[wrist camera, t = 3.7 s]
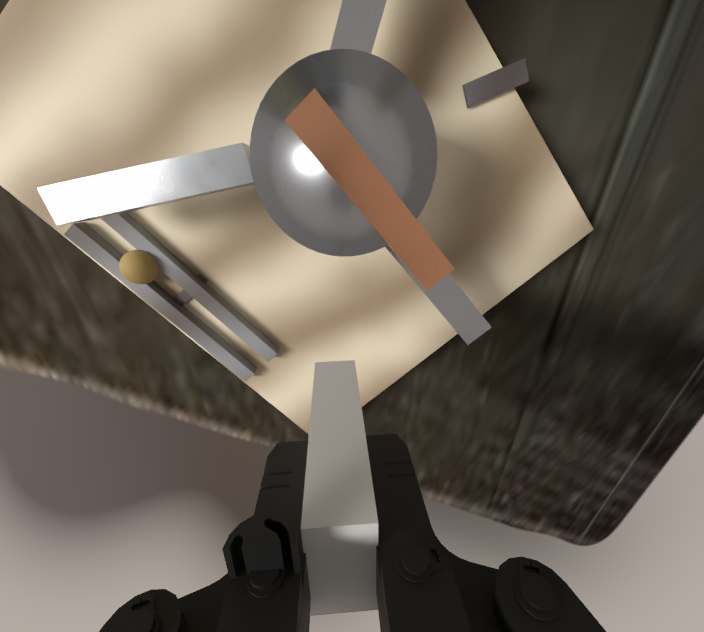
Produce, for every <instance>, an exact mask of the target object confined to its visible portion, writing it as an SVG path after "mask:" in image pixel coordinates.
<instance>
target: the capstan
mask: <svg viewBox="0 0 704 632" xmlns="http://www.w3.org/2000/svg"><path fill="white" fill-rule="evenodd" d="M386 1H387V0H342V4H341V8H340V12H339V16H338V20H337V24H336V28H335V31H334V35H333V39H332V43H331V47H330V50H325V51H321V52H318V53H315V54H312V55H309V56H307V57H305V58H303V59H301V60H299V61H297V62H296V63H295V64H293V65H292V66H290V67H289V68H287V69H286V70H285V71H284V72H283V73H282V74H281V75H280V76H279V77H278V78H277V79H276V80H275V81H274V83H273V84H272V85H271V87H270V88H269V89H268V91H267V92H266V94H265V96H264V98H263V99H262V101H261V103H260V106H259V108H258V110H257V113H256V115H255V119H254V123H253V126H252V132H251V139H250V146H249V145H247V144H245V143H243V142H242V143H238V144H233V145H229V146H224V147H220V148H215V149H211V150H206V151H202V152H197V153H193V154H188V155H184V156H179V157H174V158H170V159H165V160H161V161H156V162H152V163H147V164H143V165H138V166H134V167H129V168H125V169H120V170H116V171H111V172H107V173H102V174H98V175H93V176H89V177H84V178H80V179H75V180H70V181H66V182H61V183H57V184H52V185H48V186H43V187H39V188H37V189H38V191H39V193H40V195H41V197H42V199H43V200H44V202H45V204H46V206H47V208H48V210H49V212H50V214H51V216H52V217H53V219H54V221H55V223H56V225H62V224H68V223H75V222H82V221H89V220H94V219H98V218H103V217H108V216H112V215H117V214H121V213H126V212H130V211H135V210H139V209H144V208H149V207H153V206H158V205H162V204H167V203H171V202H176V201H181V200H185V199H190V198H194V197H199V196H203V195H208V194H212V193H217V192H222V191H226V190H231V189H235V188H240V187H244V186H249V185H254V184H255V187H256V190H257V193H258V195H259V198H260V200H261V202H262V204H263V206H264V208H265V209H266V211H267V212H268V214H269V215H270V217H271V218H272V219H273V221H274V222H275V223H276V224H277V225H278V227H279V228H280V229H281V230H282V231H284V232H285V233H286V234H287V235H288V236H289V237H291V238H292V239H293V240H295V241H296V242H297V243H299V244H301V245H303V246H305V247H306V248H308V249H311V250H313V251H316V252H319V253H323V254H327V255H332V256H340V257H342V256H357V255H363V254H367V253H370V252H374V251H376V250H378V249H381V248H383V247H385V248H386V249H387V250H388V251H389V252H390V254H391V255H392V256H393V257H394V258H395V260H396V261H397V262H398V263H399V264H400V265H401V267H402V268H403V269H404V270H405V271H406V273H407V274H408V275H409V276H410V277H411V279H412V280H413V281H414V282H415V283H416V285H417V286H418V287H419V288H420V289H421V290H422V292H423V293H424V294H425V295H426V296H427V298H428V299H429V300H430V301H431V302H432V304H433V305H434V306H435V307H436V308H437V309H438V311H439V312H440V313H441V314H442V315H443V317H444V318H445V319H446V320H447V321H448V323H449V324H450V325H451V326H452V327H453V328H454V330H455V331H456V332H457V333H458V334H459V335H460V337H461V338H462V339H463V340H464V341H465V342H466V343H467V345H469V344H470V343H471V342H473V341H474V340H475V339H477V338H478V337H479V336H481V335H482V334H483V333H485V332H486V331H487V330H489V329H490V328H491V326H490V325H489V323H488V322H487V321H486V320H485V318H484V317H483V316H482V314H481V313H480V312H479V311H478V309H477V308H476V307H475V306H474V304H473V303H472V302H471V300H470V299H469V298H468V297H467V295H466V294H465V293H464V292H463V290H462V289H461V288H460V286H459V285H458V284H457V283H456V281H455V280H454V279H453V277H452V276H451V275H450V274H449V273H450V272H451V271H452V270H454V267H453V266H452V265H451V264H450V262H449V261H448V260H447V258H446V257H445V256H444V255H443V253H442V252H441V251H440V249H439V248H438V247H437V245H436V244H435V243H434V242H433V240H432V239H431V238H430V236H429V235H428V234H427V233H426V231H425V230H424V229H423V227H422V226H421V225H420V223H419V222H418V221H417V220H416V219H417V218H418V216H419V215H420V213H421V211H422V210H423V208H424V207H425V204H426V202H427V200H428V198H429V196H430V193H431V190H432V187H433V184H434V179H435V174H436V169H437V140H436V133H435V128H434V125H433V121H432V117H431V115H430V112H429V110H428V108H427V105H426V103H425V101H424V100H423V98H422V96H421V94H420V93H419V91H418V90H417V88H416V87H415V86H414V85H413V83H412V82H411V81H410V80H409V79H408V78H407V77H406V76H405V75H404V74H403V73H402V72H401V71H400V70H399V69H397V68H396V67H395V66H393V65H392V64H391V63H389V62H387V61H386V60H384V59H382V58H380V57H378V56H376V55H373V54H371V52H372V49H373V45H374V42H375V39H376V35H377V32H378V28H379V25H380V22H381V18H382V15H383V11H384V8H385V4H386Z"/></svg>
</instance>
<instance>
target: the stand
mask: <svg viewBox="0 0 704 632" xmlns="http://www.w3.org/2000/svg"><path fill="white" fill-rule="evenodd" d="M341 4H342V0H9V2H8V3H7V5H6V7H5V8H4V10H3V11H2V13H1V14H0V185H1V186H2V187H3V188H5V189H6V190H7V191H8V192H10V193H11V194H12V195H13V196H14V197H16V198H17V199H18V200H19V201H21V202H22V203H23V204H24V205H26V206H27V207H28V208H29V209H31V210H32V211H33V212H34V213H36V214H37V215H38V216H39V217H40V218H42V219H43V220H44V221H45V222H47V223H48V224H49V225H50V226H52V227H53V228H54V229H55V230H57V231H58V232H59V233H60V234H62V235H63V236H64V237H65V238H66V239H68V240H69V241H70V242H71V243H73V244H74V245H75V246H76V247H78V248H79V249H80V250H81V251H83V252H84V253H85V254H86V255H88V256H89V257H90V258H91V259H92V260H94V261H95V262H96V263H97V264H99V265H100V266H101V267H102V268H104V269H105V270H106V271H107V272H109V273H110V274H111V275H112V276H114V277H115V278H116V279H117V280H118V281H120V282H121V283H122V284H123V285H125V286H126V287H127V288H128V289H130V290H131V291H132V292H133V293H135V294H136V295H137V296H138V297H140V298H141V299H142V300H143V301H144V302H146V303H147V304H148V305H149V306H151V307H152V308H153V309H154V310H156V311H157V312H158V313H159V314H161V315H162V316H163V317H164V318H166V319H167V320H168V321H169V322H170V323H172V324H173V325H174V326H175V327H177V328H178V329H179V330H180V331H182V332H183V333H184V334H185V335H187V336H188V337H189V338H190V339H192V340H193V341H194V342H195V343H196V344H198V345H199V346H200V347H201V348H203V349H204V350H205V351H206V352H208V353H209V354H210V355H211V356H213V357H214V358H215V359H216V360H218V361H219V362H220V363H221V364H222V365H224V366H225V367H226V368H227V369H229V370H230V371H231V372H232V373H234V374H235V375H236V376H237V377H239V378H240V379H241V380H242V381H244V382H245V383H246V384H247V385H248V386H250V387H251V388H252V389H253V390H255V391H256V392H257V393H258V394H260V395H261V396H262V397H263V398H265V399H266V400H267V401H268V402H270V403H271V404H272V405H273V406H274V407H276V408H277V409H278V410H279V411H281V412H282V413H283V414H284V415H286V416H287V417H288V418H289V419H291V420H292V421H293V422H294V423H296V424H297V425H298V426H299V427H300V428H302V429H303V430H304V431H305V432H307V433H308V434H309V427H310V415H311V404H312V392H313V380H314V369H315V362H330V361H349V360H355V366H356V373H357V380H358V387H359V394H360V400H361V407H363V406H364V405H365V404H367V403H368V402H369V401H370V400H372V399H373V398H374V397H376V396H377V395H378V394H380V393H381V392H382V391H383V390H385V389H386V388H387V387H389V386H390V385H391V384H393V383H394V382H395V381H397V380H398V379H399V378H400V377H402V376H403V375H404V374H406V373H407V372H408V371H410V370H411V369H412V368H414V367H415V366H416V365H417V364H419V363H420V362H421V361H423V360H424V359H425V358H427V357H428V356H429V355H431V354H432V353H433V352H434V351H436V350H437V349H438V348H440V347H441V346H442V345H444V344H445V343H446V342H447V341H449V340H450V339H451V338H453V337H454V336H455V335H457V334H458V333H457V332H456V331H455V330H454V328H453V327H452V326H451V325H450V324H449V323H448V321H447V320H446V319H445V318H444V317H443V315H442V314H441V313H440V312H439V311H438V309H437V308H436V307H435V306H434V305H433V304H432V302H431V301H430V300H429V299H428V298H427V296H426V295H425V294H424V293H423V292H422V290H421V289H420V288H419V287H418V286H417V285H416V283H415V282H414V281H413V280H412V279H411V277H410V276H409V275H408V274H407V273H406V271H405V270H404V269H403V268H402V267H401V265H400V264H399V263H398V262H397V261H396V260H395V258H394V257H393V256H392V255H391V254H390V252H389V251H388V250H387V249H386V248H385V247H383V248H381V249H378V250H376V251H374V252H370V253H367V254H363V255H357V256H342V257H340V256H332V255H327V254H323V253H319V252H316V251H313V250H311V249H308V248H306V247H305V246H303V245H301V244H299V243H297V242H296V241H295V240H293V239H292V238H291V237H289V236H288V235H287V234H286V233H285V232H284V231H282V230H281V229H280V228H279V227H278V225H277V224H276V223H275V222H274V221H273V219H272V218H271V217H270V215H269V214H268V212H267V211H266V209H265V208H264V206H263V204H262V202H261V200H260V198H259V195H258V193H257V190H256V187H255V184H254V185H249V186H244V187H240V188H235V189H231V190H226V191H222V192H217V193H212V194H208V195H203V196H199V197H194V198H190V199H185V200H181V201H176V202H171V203H167V204H162V205H158V206H153V207H149V208H144V209H139V210H135V211H130V212H126V213H121V214H117V215H112V216H108V217H103V218H98V219H94V220H89V221H82V222H75V223H68V224H62V225H56V223H55V221H54V219H53V217H52V216H51V214H50V212H49V210H48V208H47V206H46V204H45V202H44V200H43V199H42V197H41V195H40V193H39V191H38V189H37V188H39V187H43V186H48V185H52V184H57V183H61V182H66V181H70V180H75V179H80V178H84V177H89V176H93V175H98V174H102V173H107V172H111V171H116V170H120V169H125V168H129V167H134V166H138V165H143V164H147V163H152V162H156V161H161V160H165V159H170V158H174V157H179V156H184V155H188V154H193V153H197V152H202V151H206V150H211V149H215V148H220V147H224V146H229V145H233V144H238V143H242V142H243V143H245V144H247V145H249V146H250V139H251V132H252V126H253V123H254V119H255V115H256V113H257V110H258V108H259V106H260V103H261V101H262V99H263V98H264V96H265V94H266V92H267V91H268V89H269V88H270V87H271V85H272V84H273V83H274V81H275V80H276V79H277V78H278V77H279V76H280V75H281V74H282V73H283V72H284V71H285V70H286V69H287V68H289V67H290V66H292V65H293V64H295V63H296V62H297V61H299V60H301V59H303V58H305V57H307V56H309V55H312V54H315V53H318V52H321V51H325V50H330V47H331V43H332V39H333V35H334V31H335V28H336V24H337V20H338V16H339V12H340V8H341ZM371 54H373V55H376V56H378V57H380V58H382V59H384V60H386V61H387V62H389V63H391V64H392V65H393V66H395V67H396V68H397V69H399V70H400V71H401V72H402V73H403V74H404V75H405V76H406V77H407V78H408V79H409V80H410V81H411V82H412V83H413V85H414V86H415V87H416V88H417V90H418V91H419V93H420V94H421V96H422V98H423V100H424V101H425V103H426V105H427V108H428V110H429V112H430V115H431V117H432V121H433V125H434V128H435V133H436V140H437V169H436V174H435V179H434V184H433V187H432V190H431V193H430V196H429V198H428V200H427V202H426V204H425V207H424V208H423V210H422V211H421V213H420V215H419V216H418V218H417V219H416V220H417V221H418V222H419V223H420V225H421V226H422V227H423V229H424V230H425V231H426V233H427V234H428V235H429V236H430V238H431V239H432V240H433V242H434V243H435V244H436V245H437V247H438V248H439V249H440V251H441V252H442V253H443V255H444V256H445V257H446V258H447V260H448V261H449V262H450V264H451V265H452V266H453V267H454V270H452V271H451V272H450V273H449V274H450V275H451V276H452V277H453V279H454V280H455V281H456V283H457V284H458V285H459V286H460V288H461V289H462V290H463V292H464V293H465V294H466V295H467V297H468V298H469V299H470V300H471V302H472V303H473V304H474V306H475V307H476V308H477V309H478V311H479V312H480V313H481V314H482V315H483V314H484V313H485V312H487V311H488V310H489V309H491V308H492V307H493V306H495V305H496V304H497V303H498V302H500V301H501V300H502V299H504V298H505V297H506V296H508V295H509V294H510V293H512V292H513V291H514V290H515V289H517V288H518V287H519V286H521V285H522V284H523V283H525V282H526V281H527V280H528V279H530V278H531V277H532V276H534V275H535V274H536V273H538V272H539V271H540V270H542V269H543V268H544V267H545V266H547V265H548V264H549V263H551V262H552V261H553V260H555V259H556V258H557V257H559V256H560V255H561V254H562V253H564V252H565V251H566V250H568V249H569V248H570V247H572V246H573V245H574V244H576V243H577V242H578V241H579V240H581V239H582V238H583V237H585V236H586V235H587V234H589V233H590V232H591V231H592V230H594V229H593V227H592V226H591V224H590V222H589V220H588V219H587V217H586V215H585V213H584V211H583V210H582V208H581V206H580V204H579V202H578V201H577V199H576V197H575V195H574V194H573V192H572V190H571V188H570V186H569V185H568V183H567V181H566V179H565V177H564V176H563V174H562V172H561V170H560V169H559V167H558V165H557V163H556V161H555V160H554V158H553V156H552V154H551V152H550V151H549V149H548V147H547V145H546V144H545V142H544V140H543V138H542V136H541V135H540V133H539V131H538V129H537V127H536V126H535V124H534V122H533V120H532V119H531V117H530V115H529V113H528V111H527V110H526V108H525V106H524V104H523V102H522V101H521V99H520V97H519V95H518V94H517V92H516V90H515V87H517V86H520V85H522V84H524V83H527V82H529V77H528V71H527V64H526V57H525V58H523V59H521V60H519V61H516V62H514V63H512V64H509V65H507V66H505V67H502V65H501V63H500V61H499V60H498V58H497V56H496V54H495V52H494V51H493V49H492V47H491V45H490V44H489V42H488V40H487V38H486V36H485V35H484V33H483V31H482V29H481V27H480V26H479V24H478V22H477V20H476V19H475V17H474V15H473V13H472V11H471V10H470V8H469V6H468V4H467V2H466V1H465V0H387V1H386V4H385V8H384V11H383V15H382V18H381V22H380V25H379V28H378V32H377V35H376V39H375V42H374V45H373V49H372V52H371Z"/></svg>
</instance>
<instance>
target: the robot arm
mask: <svg viewBox="0 0 704 632" xmlns="http://www.w3.org/2000/svg"><path fill="white" fill-rule="evenodd" d="M223 553H224V557H225V561H226V565H227V569H228V573H227V574H226V575H225V576H224V577H222V578H221V579H220V580H218V581H216V582H215V583H213V584H211V585H209V586H207V587H205V588H203V589H200V590H198V591H196V592H193V593H191V594H189V595H186V596H184V597H182V598H179V599H177V597H176V595H175V594H173V593H171V592H169V591H167V590H166V589H159V590H150V591H147V592H145V593H142V594H140V595H137V596H135V597H134V598H132V599H131V600H130V601H128V602H127V603H126V604H124V605H123V606H121V607H120V608H119V609H118V610H117V611H116V612H115V613H114V614H113V615H112V617H111V618H110V619H109V620H108V621H107V622H106V623H105V625H104V626H103V627H102V628H101V630H100V631H99V632H309V623H310V614H311V616H312V615H323V614H334V613H346V612H357V611H368V610H377V609H378V611H379V620H380V628H381V632H606V631H605V630H604V629H603V627H602V626H601V625H600V624H599V622H598V621H597V620H596V619H595V618H594V616H593V615H592V614H591V613H590V612H589V610H588V609H587V608H586V607H585V606H584V604H583V603H582V602H581V601H580V600H579V598H578V597H577V596H576V595H575V593H574V592H573V591H572V590H571V589H570V588H569V586H568V585H567V584H566V583H565V582H564V581H563V580H562V579H561V578H560V577H559V576H558V575H557V574H556V573H555V572H554V571H553V570H552V569H550V568H548V567H547V566H545V565H543V564H542V563H540V562H538V561H536V560H532V559H528V558H525V557H516V558H509V559H508V560H507V561H505V562H504V563H503V564H501V565H500V567H499V569H494V568H491V567H487V566H483V565H479V564H476V563H472V562H468V561H466V560H464V559H461V558H459V557H457V556H455V555H454V554H452V553H451V552H449V551H448V550H447V549H446V548H445V547H444V546H443V545H442V544H441V543H440V542H439V540H438V539H437V537H436V536H435V534H434V531H433V529H432V527H431V524H430V521H429V517H428V514H427V511H426V507H425V504H424V501H423V497H422V494H421V491H420V487H419V484H418V481H417V477H416V476H415V471H414V467H413V464H412V461H411V458H410V454H409V451H408V448H407V445H406V444H405V443H404V442H403V441H402V440H401V439H400V437H399V436H398V435H397V434H388V435H372V436H366V435H365V428H364V421H363V414H362V407H361V400H360V394H359V387H358V380H357V373H356V366H355V360H349V361H330V362H315V369H314V380H313V392H312V404H311V415H310V427H309V438H308V441H297V442H282V443H277V445H276V446H275V447H274V449H273V450H272V451H271V453H270V454H269V455H268V457H267V461H266V466H265V470H264V476H263V479H262V483H261V489H260V491H259V495H258V500H257V504H256V509H255V513H254V516H252V517H250V518H248V519H247V520H245V521H243V522H242V523H240V524H239V525H238V526H237V527H236V528H235V529H234V531H233V532H232V533H231V534H230V535H229V537H228V539H227V541H226V543H225V545H224V547H223Z"/></svg>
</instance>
